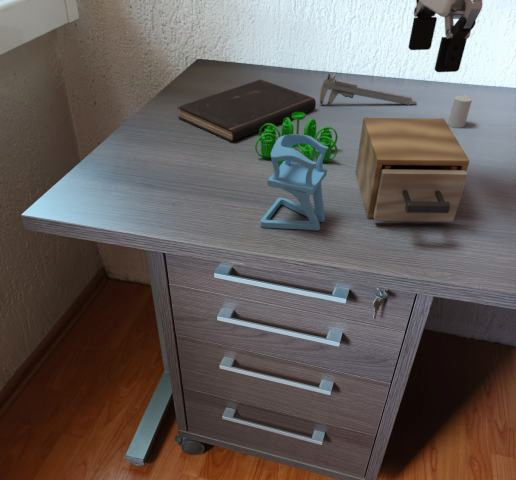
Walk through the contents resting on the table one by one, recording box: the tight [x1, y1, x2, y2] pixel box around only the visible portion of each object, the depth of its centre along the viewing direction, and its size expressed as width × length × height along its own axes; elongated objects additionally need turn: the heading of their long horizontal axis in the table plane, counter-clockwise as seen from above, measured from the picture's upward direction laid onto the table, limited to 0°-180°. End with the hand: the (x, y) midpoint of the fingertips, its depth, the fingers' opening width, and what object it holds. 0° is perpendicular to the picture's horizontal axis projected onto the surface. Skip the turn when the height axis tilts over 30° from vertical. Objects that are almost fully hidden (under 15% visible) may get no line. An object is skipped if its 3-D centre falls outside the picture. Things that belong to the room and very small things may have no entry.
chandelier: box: [254, 112, 338, 167], centre depth 91 cm, size 15×15×7 cm
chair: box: [260, 133, 328, 231], centre depth 73 cm, size 8×8×12 cm
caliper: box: [319, 72, 418, 107], centre depth 108 cm, size 20×1×6 cm, turn 93°
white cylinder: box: [447, 94, 473, 129], centre depth 101 cm, size 3×3×5 cm
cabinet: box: [355, 117, 471, 219], centre depth 80 cm, size 15×13×9 cm
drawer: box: [373, 165, 468, 223], centre depth 76 cm, size 18×11×7 cm, turn 179°
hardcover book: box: [177, 79, 317, 143], centre depth 105 cm, size 16×23×2 cm
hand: (432, 59), depth 73 cm, fingers open, 9 cm apart
